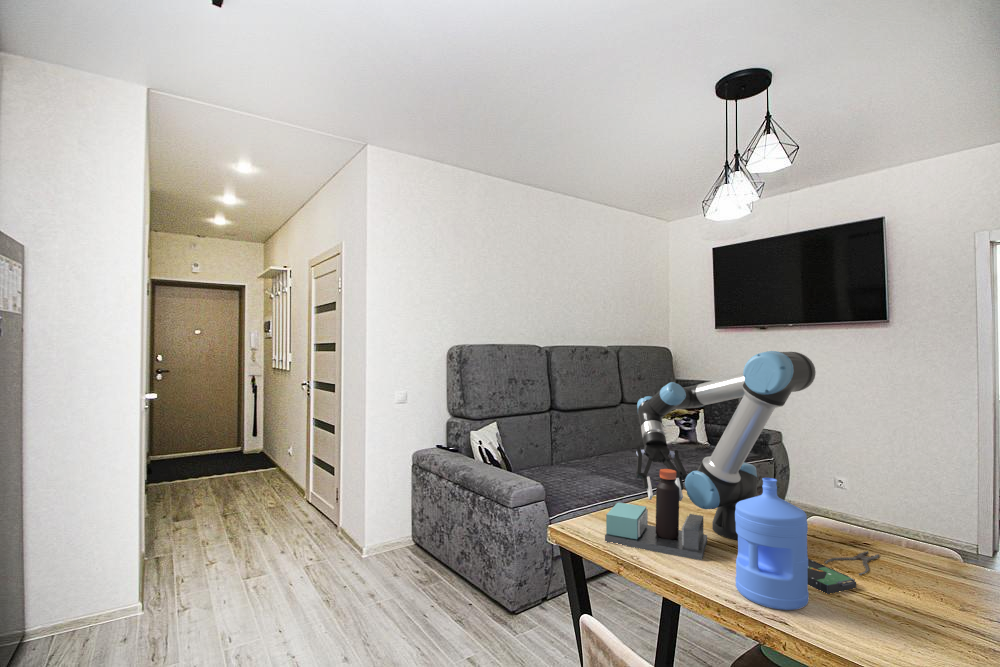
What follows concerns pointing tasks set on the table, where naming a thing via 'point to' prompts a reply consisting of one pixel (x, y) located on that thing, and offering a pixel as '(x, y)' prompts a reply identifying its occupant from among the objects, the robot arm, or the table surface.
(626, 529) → the block
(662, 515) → the vinegar
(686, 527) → the vise base
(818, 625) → the table surface
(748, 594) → the water jug
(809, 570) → the disk drive
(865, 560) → the pliers
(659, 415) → the robot arm
